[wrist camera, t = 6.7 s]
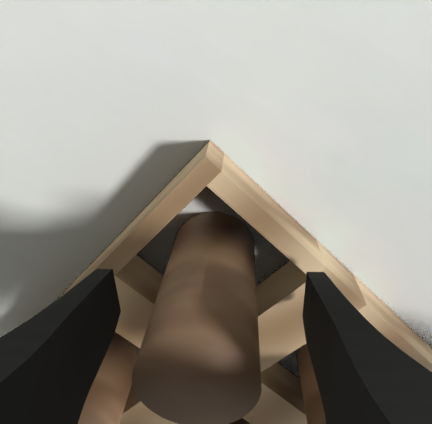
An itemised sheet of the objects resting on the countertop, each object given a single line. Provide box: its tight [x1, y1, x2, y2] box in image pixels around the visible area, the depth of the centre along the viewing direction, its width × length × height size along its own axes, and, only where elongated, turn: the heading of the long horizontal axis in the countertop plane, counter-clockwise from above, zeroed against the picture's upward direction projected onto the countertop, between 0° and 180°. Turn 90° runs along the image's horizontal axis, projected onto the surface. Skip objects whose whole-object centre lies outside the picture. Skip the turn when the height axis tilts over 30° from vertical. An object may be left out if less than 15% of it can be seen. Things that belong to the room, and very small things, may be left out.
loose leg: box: [132, 212, 261, 424], centre depth 13 cm, size 4×4×7 cm
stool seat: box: [57, 141, 432, 424], centre depth 15 cm, size 15×15×7 cm
